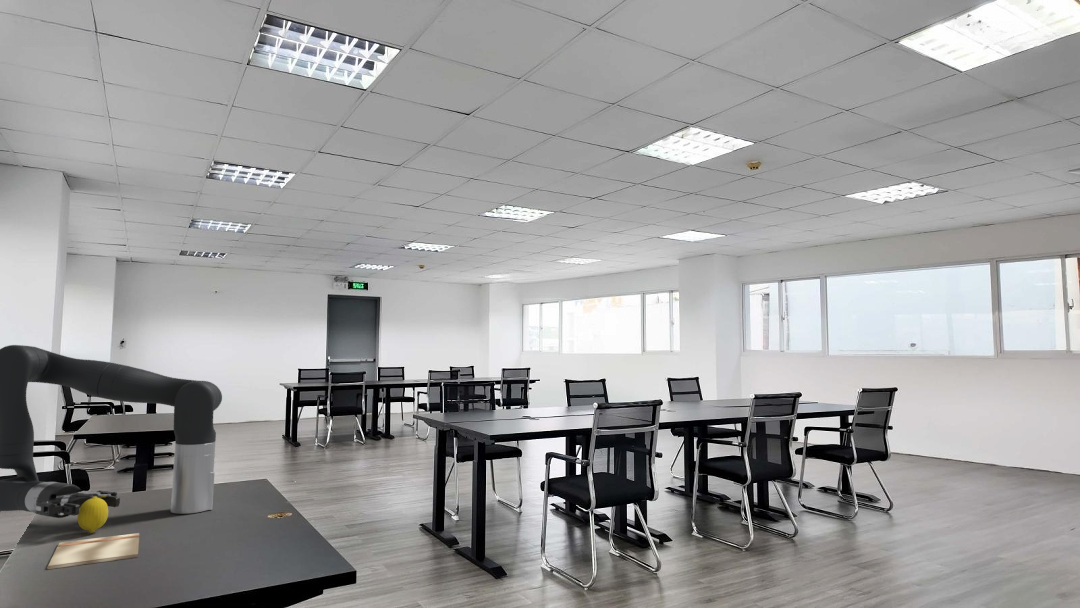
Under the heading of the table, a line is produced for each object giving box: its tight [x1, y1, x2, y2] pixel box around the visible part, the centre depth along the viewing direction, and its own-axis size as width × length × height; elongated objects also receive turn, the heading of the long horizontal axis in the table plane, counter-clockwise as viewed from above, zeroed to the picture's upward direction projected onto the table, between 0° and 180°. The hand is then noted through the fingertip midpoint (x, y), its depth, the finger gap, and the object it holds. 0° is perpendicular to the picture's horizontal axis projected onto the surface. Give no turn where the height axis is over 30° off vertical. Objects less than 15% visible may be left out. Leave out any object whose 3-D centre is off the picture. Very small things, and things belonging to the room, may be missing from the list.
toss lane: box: [46, 532, 140, 570], centre depth 123 cm, size 14×18×1 cm
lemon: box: [77, 496, 109, 534], centre depth 136 cm, size 6×6×8 cm
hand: (98, 506), depth 135 cm, fingers open, 8 cm apart
